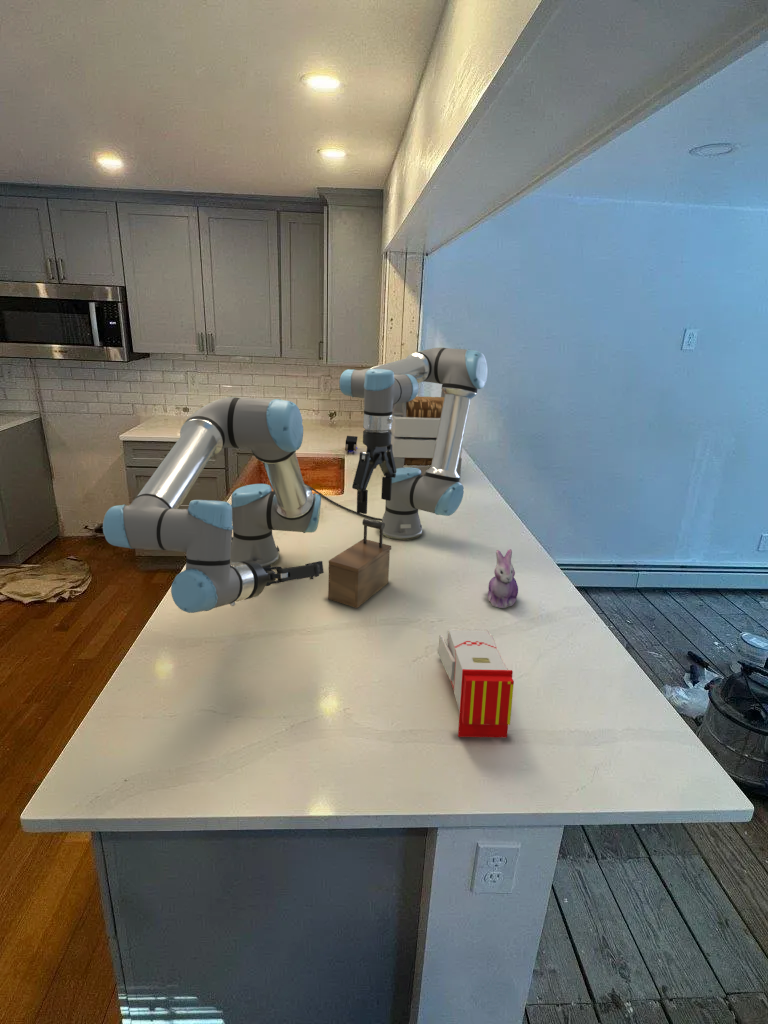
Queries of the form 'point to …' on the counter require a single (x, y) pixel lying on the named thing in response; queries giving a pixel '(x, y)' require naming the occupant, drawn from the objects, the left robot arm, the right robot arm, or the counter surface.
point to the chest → (358, 582)
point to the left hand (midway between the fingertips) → (295, 568)
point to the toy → (478, 682)
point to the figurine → (503, 582)
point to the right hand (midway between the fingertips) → (374, 506)
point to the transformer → (416, 431)
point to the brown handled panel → (362, 550)
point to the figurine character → (351, 444)
